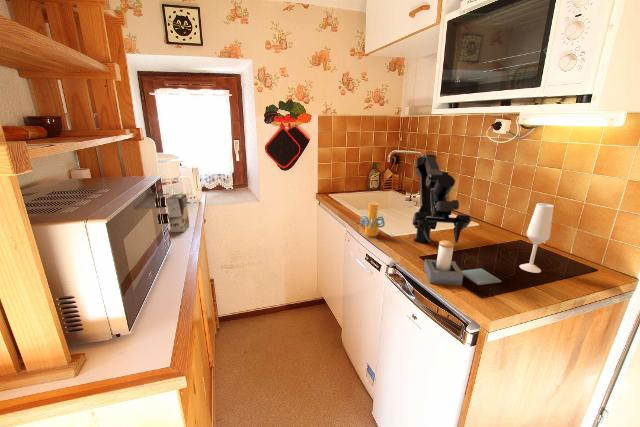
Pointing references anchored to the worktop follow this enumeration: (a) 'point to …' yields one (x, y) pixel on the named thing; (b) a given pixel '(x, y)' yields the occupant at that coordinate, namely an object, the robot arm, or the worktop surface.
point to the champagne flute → (538, 232)
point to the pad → (480, 276)
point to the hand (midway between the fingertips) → (442, 241)
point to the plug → (444, 255)
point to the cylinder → (372, 221)
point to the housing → (443, 273)
